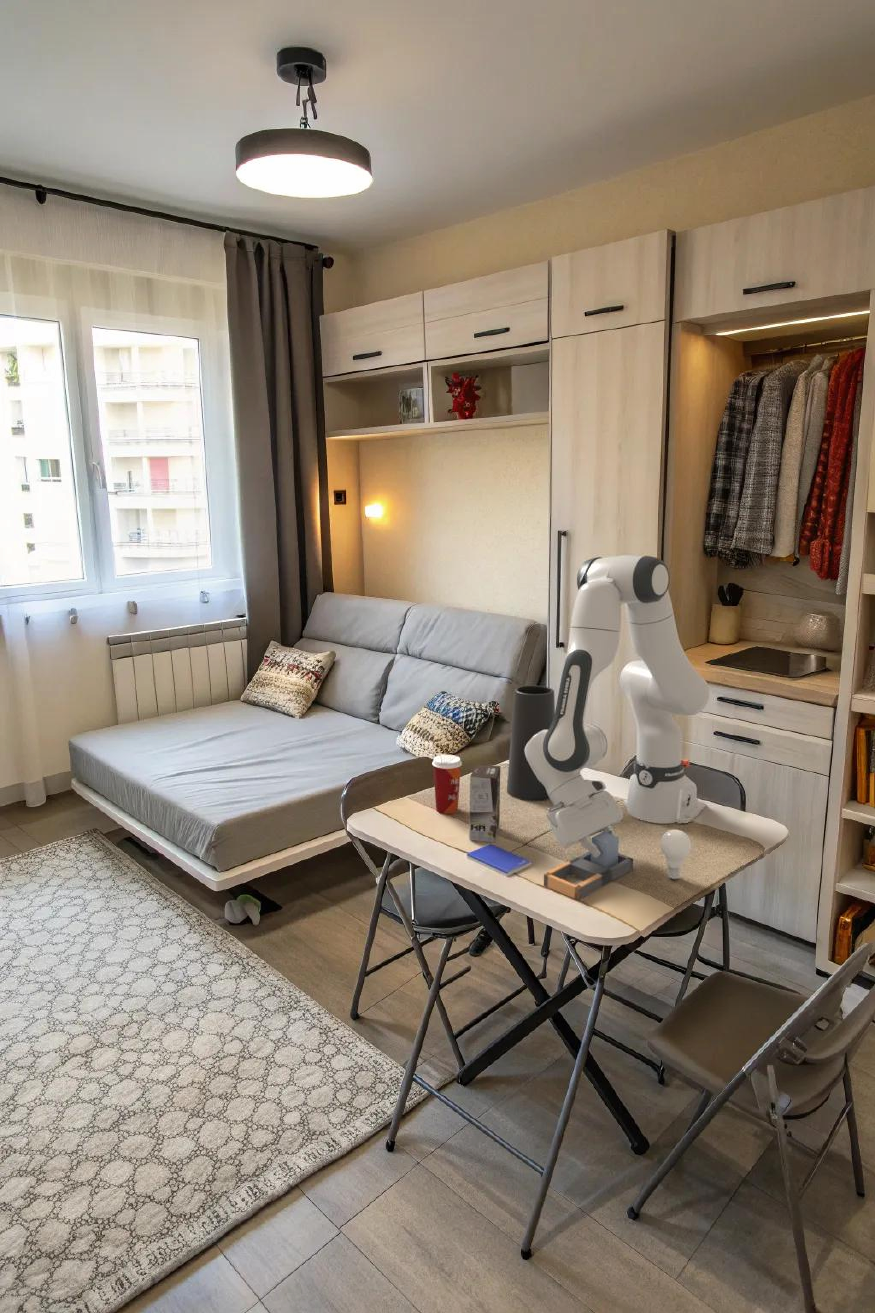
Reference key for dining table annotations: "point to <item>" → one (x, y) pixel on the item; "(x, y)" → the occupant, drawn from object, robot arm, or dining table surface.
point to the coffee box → (484, 803)
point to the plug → (606, 849)
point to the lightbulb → (675, 851)
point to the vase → (527, 720)
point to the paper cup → (447, 783)
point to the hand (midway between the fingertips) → (607, 851)
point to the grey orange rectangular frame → (585, 875)
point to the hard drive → (499, 859)
